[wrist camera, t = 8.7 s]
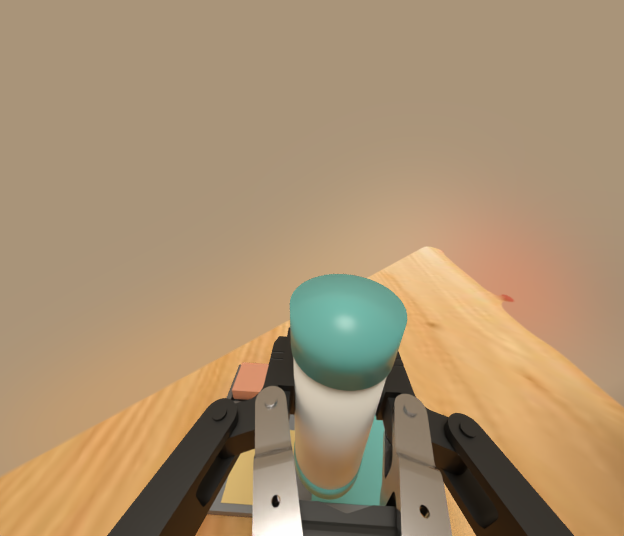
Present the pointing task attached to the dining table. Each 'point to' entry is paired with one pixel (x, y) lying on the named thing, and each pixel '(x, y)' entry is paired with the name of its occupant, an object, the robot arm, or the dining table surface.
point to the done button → (249, 380)
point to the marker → (339, 374)
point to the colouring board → (239, 482)
